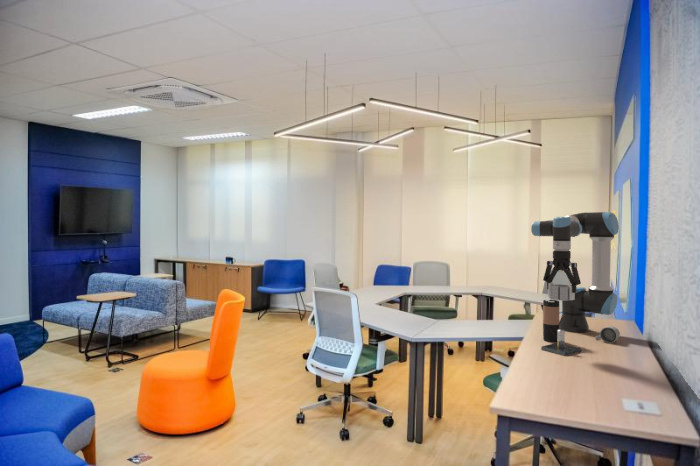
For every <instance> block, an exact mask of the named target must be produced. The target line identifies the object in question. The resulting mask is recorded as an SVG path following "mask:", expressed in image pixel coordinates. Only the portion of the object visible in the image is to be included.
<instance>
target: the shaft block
mask: <svg viewBox="0 0 700 466" xmlns="http://www.w3.org/2000/svg"><path fill="white" fill-rule="evenodd" d="M565 333H566V331H565V330H561V329H559V330H557V342H553V343H549V344H545V345H542V346H540V347H541V348H540V350H541V351H545V352H549V353H553V354H557V355H560V356H565V357H566V356H570V355H573V354H577V352H578V353H581V352H582V349H581V348H580V347H576V346H571V345H569V344H568V345H567V344H565Z"/></svg>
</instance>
